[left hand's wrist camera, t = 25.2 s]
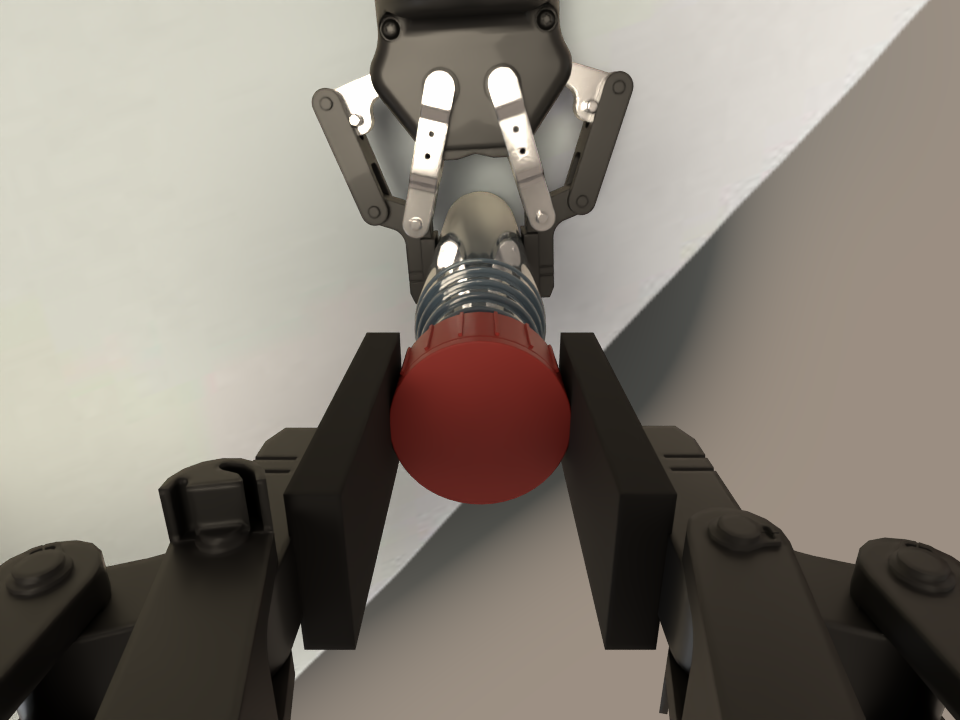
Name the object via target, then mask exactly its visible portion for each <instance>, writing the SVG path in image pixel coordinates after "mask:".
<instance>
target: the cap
mask: <svg viewBox="0 0 960 720" xmlns="http://www.w3.org/2000/svg"><path fill="white" fill-rule="evenodd" d="M570 418H571V407H570V403H569V399H568V396H567V393H566V390H565V387H564V383H563V380H562V377H561V374H560V371H559V367H558V364H557V361H556V359H555V356H554V352H553V349H552V346H551V345H547V344H546V342H545V341H544V340H543V339H542V338H541V337H540V336H539V335H538V334H537V333H536V332H535V331H534V330H532V329H531V328H530V327H529V324H527V323H525V324H524V323H522V322H520V321H518V320H516V319H513V318H511V317H508V316H505V315H501V314H498V312H495V311H494V313H490V312H472V313H465V314H464V312H460V315H456V316H453V317H450V318H447V319H445V320H443V321H441V322H439V323H437V324H435V325H434V326H433V325H430V326H429V329H428V330H427V331H426V332H425V333H424V334H422V335H421V336H420V337H419V339H418V340H417V341H416V342H415V343H414V344H413V346H412V347H411V348H410V347H409V348H408V349H407V352H406V355H405V359H404V362H403V365H402V368H401V371H400V376H399V380H398V383H397V386H396V389H395V393H394V396H393V399H392V403H391V406H390V428H391V442H392V445H393V449H394V451H395V453H396V455H397V457H398V459H399V461H400V462H401V464H402V465H403V467H404V468H405V469H406V471H407V472H408V473H409V474H410V475H411V476H412V477H413V478H414V479H415V480H416V481H417V482H418V483H419V484H421V485H422V486H424V487H425V488H426V489H428V490H430V491H431V492H433V493H435V494H437V495H439V496H442V497H444V498H447V499H449V500H453V501H457V502H462V503H469V504H493V503H499V502H504V501H508V500H511V499H514V498H517V497H519V496H521V495H524V494H526V493H528V492H529V491H531V490H533V489H535V488H536V487H537V486H539V485H540V484H541V483H543V482H544V481H545V480H546V479H547V478H548V477H549V476H550V475H551V474H552V473H553V472H554V470H555V469H556V468H557V467H558V465H559V464H560V462H561V460H562V459H563V457H564V455H565V453H566V450H567V448H568V445H569V435H570Z"/></svg>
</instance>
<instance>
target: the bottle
mask: <svg viewBox="0 0 960 720" xmlns="http://www.w3.org/2000/svg"><path fill="white" fill-rule="evenodd" d="M494 311H495V312H498V314H501V315H505V316H508V317H511V318H513V319H516V320H518V321H520V322H522V323H524V324H525V323H527V324H529V327H530V328H531V329H532V330H534V331H535V332H536V333H537V334H538V335H539V336H540V337H541V338H542V339H543V340H544V341H545V334H546V323H545V310H544V305H543V302H542V299H541V296H540V293H539V290H538V287H537V284H536V281H535V278H534V275H533V272H532V269H531V266H530V263H529V260H528V257H527V254H526V251H525V248H524V245H523V242H522V239H521V236H520V233H519V230H518V227H517V224H516V221H515V218H514V215H513V213H512V210H511V209H510V207H509V206H508V205H507V203H506V202H505V201H504V200H503V199H501V198H500V197H498V196H496V195H495V194H492V193H489V192H482V191H479V192H471V193H468V194H466V195H464V196H462V197H460V198H459V199H458V200H457V201H455V202H454V204H453V205H452V206H451V208H450V209H449V211H448V213H447V216H446V219H445V222H444V225H443V228H442V231H441V234H440V237H439V240H438V243H437V246H436V249H435V252H434V255H433V258H432V261H431V264H430V267H429V270H428V273H427V276H426V279H425V282H424V285H423V288H422V291H421V294H420V297H419V300H418V303H417V307H416V313H415V339H416V341H417V340H418V339H419V337H420V336H421V335H422V334H424V333H425V332H426V331H427V330H428V329H429V326H430V325H433V326H434V325H435V324H437V323H439V322H441V321H443V320H445V319H447V318H450V317H453V316H456V315H460V312H464V314H465V313H472V312H490V313H494Z"/></svg>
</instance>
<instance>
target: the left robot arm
mask: <svg viewBox="0 0 960 720" xmlns="http://www.w3.org/2000/svg"><path fill="white" fill-rule="evenodd" d="M400 371H401V350H400V333H366V335H365V337H364V339H363V341H362V343H361V345H360V347H359V349H358V351H357V353H356V355H355V357H354V358H353V360H352V362H351V364H350V366H349V368H348V370H347V372H346V374H345V376H344V378H343V380H342V382H341V384H340V385H339V387H338V389H337V391H336V393H335V395H334V397H333V399H332V401H331V403H330V405H329V407H328V409H327V411H326V412H325V414H324V416H323V418H322V420H321V422H320V424H319V426H318V428H285V429H283V430H282V431H280V432H279V433H277V434H276V435H274V436H273V437H271V438H270V439H268V440H267V441H266V442H265V443H264V445H263V446H262V448H261V449H260V451H259V452H258V454H257V456H256V459H255V460H253V461H249V460H246V459H242V458H222V459H216V460H211V461H205V462H201V463H198V464H196V465H193V466H190V467H187V468H185V469H183V470H181V471H179V472H178V473H176V474H174V475H173V476H171V477H170V478H168V479H167V480H166V481H165V482H164V484H163V485H162V486H161V487H160V488H159V489H158V490H159V495H160V499H161V504H162V508H163V512H164V517H165V521H166V526H167V530H168V535H169V539H170V544H169V547H168V549H167V551H166V554H162V555H158V556H155V557H151V558H147V559H142V560H137V561H132V562H128V563H123V564H118V565H113V566H108V567H106V566H105V562H104V558H103V555H102V551H101V550H100V549H99V548H97V547H96V546H95V545H94V544H93V543H88V542H83V541H78V540H74V541H63V542H54V543H49V544H45V545H44V546H43V545H41V546H38V547H35V548H32V549H30V550H28V551H26V552H24V553H22V554H20V555H17V556H15V557H13V558H11V559H9V560H8V561H6V562H5V563H3V564H2V565H0V720H9V719H10V717H11V716H12V715H13V714H14V713H15V711H16V710H17V712H18V715H19V717H20V718H19V719H18V720H290V719H291V709H292V699H293V690H294V680H295V671H294V664H293V657H292V650H291V649H292V646H293V643H294V640H295V638H296V635H297V632H298V629H299V626H300V623H301V628H302V635H303V642H304V650H355V648H356V645H357V640H358V636H359V632H360V627H361V623H362V619H363V614H364V610H365V606H366V602H367V597H368V593H369V589H370V584H371V580H372V576H373V572H374V567H375V563H376V559H377V554H378V550H379V546H380V541H381V537H382V533H383V529H384V524H385V520H386V516H387V511H388V507H389V503H390V499H391V494H392V490H393V486H394V481H395V477H396V473H397V468H398V464H399V459H398V457H397V455H396V453H395V451H394V449H393V445H392V442H391V428H390V406H391V403H392V399H393V396H394V393H395V389H396V386H397V383H398V380H399V376H400ZM559 371H560V374H561V377H562V380H563V383H564V387H565V390H566V393H567V396H568V399H569V403H570V407H571V418H570V435H569V445H568V448H567V450H566V453H565V455H564V457H563V459H562V460H561V462H562V467H563V471H564V475H565V480H566V484H567V488H568V492H569V497H570V501H571V505H572V510H573V514H574V518H575V523H576V527H577V531H578V536H579V540H580V544H581V548H582V553H583V557H584V561H585V566H586V570H587V574H588V578H589V583H590V587H591V591H592V596H593V600H594V604H595V609H596V613H597V617H598V621H599V626H600V630H601V634H602V639H603V643H604V647H605V650H656V645H657V638H658V631H659V624H660V622H661V625H662V628H663V631H664V633H665V636H666V639H667V642H668V644H669V650H668V657H667V664H666V671H665V677H664V684H663V691H662V697H661V704H660V711H659V713H663V714H667V712H668V708H669V717H670V720H945V719H944V718H943V717H942V713H943V711H944V708H946V709H947V710H948V711H949V712H950V714H951V715H952V716H953V717H954V718H955V719H956V720H960V562H959V561H958V560H956V559H955V558H953V557H952V556H950V555H948V554H946V553H943V552H941V551H939V550H937V549H935V548H933V547H931V546H929V545H926V544H923V543H917V542H916V541H911V540H906V539H894V538H880V539H875V540H870V541H868V542H867V543H865V544H864V545H863V546H862V547H861V548H860V549H859V553H858V557H857V560H856V564H851V563H846V562H841V561H836V560H831V559H826V558H821V557H816V556H812V555H808V554H804V553H801V552H797V551H794V550H793V548H792V546H791V543H790V541H789V540H788V539H787V537H786V536H785V534H784V533H783V532H782V530H781V529H779V528H778V527H776V526H775V525H774V524H772V523H771V522H769V521H768V520H767V519H765V518H762V517H760V516H758V515H755V514H753V513H750V512H748V511H743V510H741V508H740V507H739V505H738V504H737V502H736V501H735V499H734V498H733V496H732V495H731V493H730V492H729V490H728V489H727V487H726V486H725V484H724V483H723V481H722V480H721V478H720V477H719V475H718V474H717V472H716V471H714V468H713V466H712V464H711V463H710V461H709V460H708V458H705V454H704V452H703V451H702V449H701V448H700V446H699V445H698V443H697V442H696V440H695V439H694V438H692V437H691V436H689V435H688V434H686V433H685V432H683V431H682V430H680V429H679V428H677V427H676V426H642V425H641V423H640V421H639V419H638V418H637V416H636V414H635V412H634V410H633V408H632V406H631V404H630V402H629V400H628V398H627V396H626V394H625V392H624V390H623V389H622V387H621V385H620V383H619V381H618V379H617V377H616V375H615V373H614V371H613V369H612V367H611V365H610V363H609V362H608V360H607V358H606V356H605V354H604V352H603V350H602V348H601V346H600V344H599V342H598V340H597V338H596V337H595V335H594V333H561V338H560V358H559Z"/></svg>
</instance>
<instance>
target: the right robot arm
mask: <svg viewBox="0 0 960 720" xmlns="http://www.w3.org/2000/svg"><path fill="white" fill-rule="evenodd" d="M375 7H376V16H377V26H378V43H377V48H376V52H375V55H374V57H373V60H372V62H371V66H370V74H369V75H366V76H364V77H362V78H360V79H357V80H355V81H353V82H350V83H348V84H346V85H344V86H341V87H339V88H337V89H329V88H322V89H319V90H318V91H316V92H315V94H314V95H313V98H312V107H313V110H314V112H315V114H316V116H317V118H318V121H319V123H320V125H321V127H322V129H323V132H324V134H325V136H326V138H327V141H328V143H329V145H330V147H331V149H332V152H333V154H334V156H335V158H336V160H337V163H338V165H339V167H340V169H341V171H342V174H343V176H344V178H345V180H346V183H347V185H348V187H349V189H350V191H351V194H352V196H353V198H354V200H355V202H356V205H357V207H358V209H359V211H360V213H361V216H362V218H363V219H364V221H365V222H366V223H368V224H370V225H373V226H377V225H381V226H384V227H387V228H391V229H394V230H396V231H398V232H399V233H400V234H401V235H402V236H403V238H404V240H405V243H406V251H407V261H408V272H409V281H410V292H411V295H412V297H413V299H414V301H415V303H416V304H417V303H418V300H419V297H420V294H421V291H422V288H423V285H424V282H425V279H426V276H427V273H428V270H429V267H430V264H431V261H432V258H433V255H434V252H435V249H436V246H437V243H438V240H439V239H438V230H437V231H433V216H434V211H435V206H436V200H437V195H438V190H439V185H440V181H441V176H442V171H443V166H444V161H445V160H458V159H461V158H463V157H466V156H469V155H472V154H480V155H485V156H489V157H508V160H509V163H510V166H511V169H512V173H513V176H514V179H515V182H516V185H517V188H518V191H519V195H520V198H521V201H522V204H523V208H524V217H525V226H521V239H522V242H523V245H524V248H525V251H526V254H527V257H528V260H529V263H530V266H531V269H532V272H533V275H534V278H535V281H536V284H537V287H538V290H539V293H540V296H541V298H542V297H550V295H551V293H552V290H553V287H554V266H553V265H554V257H553V234H554V231H555V229H556V227H557V226H558V224H559V223H561V222H562V221H564V220H566V219H568V218H571V217H573V216H575V215H585V214H588V213H589V212H591V211H592V209H593V208H594V206H595V203H596V200H597V197H598V194H599V191H600V188H601V185H602V182H603V179H604V176H605V173H606V170H607V167H608V164H609V161H610V158H611V155H612V152H613V149H614V146H615V143H616V140H617V137H618V134H619V131H620V128H621V125H622V122H623V119H624V116H625V112H626V109H627V106H628V103H629V100H630V97H631V94H632V91H633V81H632V78H631V77H630V76H629V75H628V74H627V73H625V72H622V71H618V72H612V73H608V72H604V71H601V70H598V69H594V68H591V67H588V66H584V65H581V64H578V63H574V62H572V58H571V54H570V51H569V49H568V47H567V45H566V44H565V42H564V39H563V36H562V34H561V29H560V23H559V0H375ZM565 86H566V87H567V88H569V89H570V91H571V92H572V94H573V98H574V102H573V112H574V114H575V116H576V117H577V118H578V119H579V120H581V121H584V123H583V126H582V129H581V133H580V136H579V139H578V142H577V145H576V149H575V152H574V155H573V158H572V162H571V165H570V168H569V171H568V175H567V178H566V181H565V184H564V186H563V187H561V188H559V189H556V190H554V191H552V192H550V193H549V191H548V187H547V184H546V180H545V177H544V171H543V167H542V164H541V160H540V157H539V153H538V150H537V147H536V143H535V140H534V134H535V132H536V131H537V129H538V128H539V126H540V124H541V123H542V121H543V120H544V118H545V117H546V115H547V113H548V112H549V110H550V109H551V107H552V106H553V104H554V102H555V101H556V99H557V98H558V96H559V95H560V93H561V91H562V90H563V88H564V87H565ZM379 97H380V98H381V99H382V101H383V102H384V103H385V104H386V106H387V107H388V108H389V109H390V111H391V112H392V113H393V114H394V116H395V117H396V118H397V119H398V121H399V122H400V123H401V124H402V126H403V127H404V128H405V129H406V131H407V132H408V133H409V134H410V136H411V137H412V138H413V139H414V141H415V148H414V153H413V159H412V165H411V171H410V177H409V188H408V194H407V200H403V199H400V198H397V197H393V196H392V195H391V192H390V190H389V188H388V185H387V183H386V181H385V178H384V176H383V174H382V171H381V169H380V167H379V164H378V162H377V160H376V158H375V155H374V153H373V151H372V148H371V146H370V144H369V141H368V139H367V137H366V134H367V133H368V132H370V131H371V130H372V128H373V126H374V122H375V120H374V115H373V105H374V103H375V101H376V100H377V99H378V98H379Z"/></svg>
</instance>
